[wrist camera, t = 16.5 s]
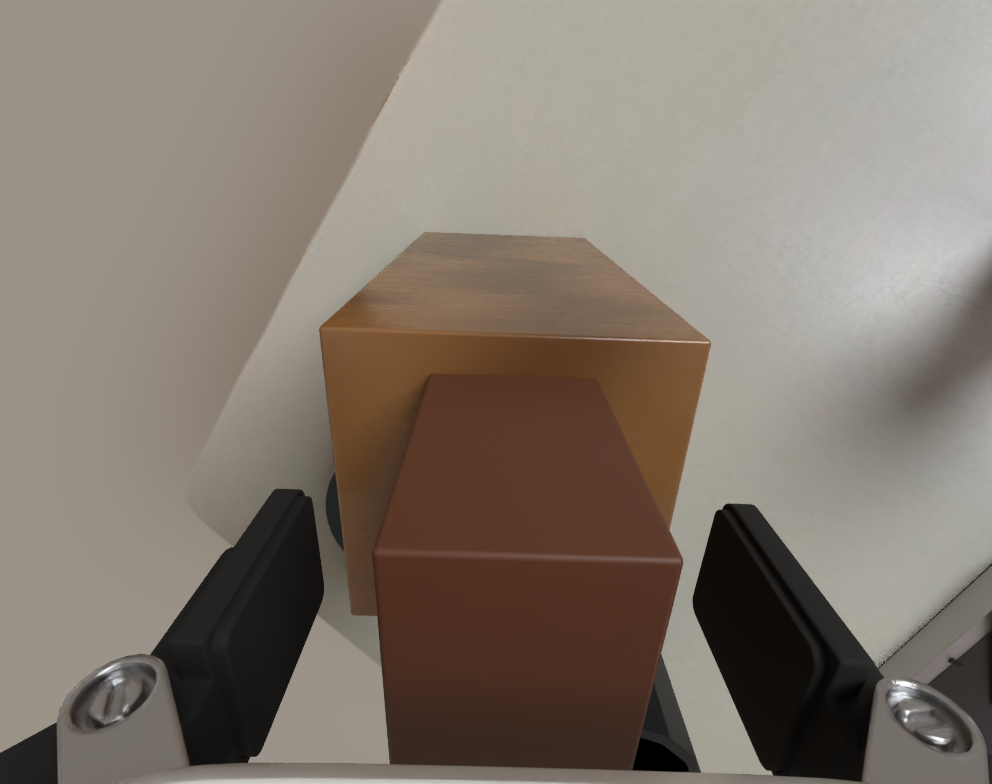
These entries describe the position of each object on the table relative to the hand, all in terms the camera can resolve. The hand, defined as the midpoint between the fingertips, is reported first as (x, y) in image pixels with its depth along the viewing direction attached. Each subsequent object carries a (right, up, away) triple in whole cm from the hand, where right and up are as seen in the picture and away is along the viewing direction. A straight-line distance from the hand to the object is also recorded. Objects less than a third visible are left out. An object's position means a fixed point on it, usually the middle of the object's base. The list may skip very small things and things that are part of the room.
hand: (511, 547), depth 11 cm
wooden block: (0, +8, +18) cm, 20 cm away
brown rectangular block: (0, +1, +2) cm, 2 cm away
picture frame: (+41, -19, +30) cm, 54 cm away
